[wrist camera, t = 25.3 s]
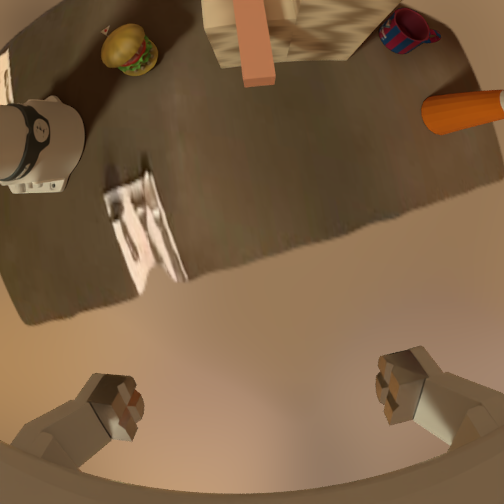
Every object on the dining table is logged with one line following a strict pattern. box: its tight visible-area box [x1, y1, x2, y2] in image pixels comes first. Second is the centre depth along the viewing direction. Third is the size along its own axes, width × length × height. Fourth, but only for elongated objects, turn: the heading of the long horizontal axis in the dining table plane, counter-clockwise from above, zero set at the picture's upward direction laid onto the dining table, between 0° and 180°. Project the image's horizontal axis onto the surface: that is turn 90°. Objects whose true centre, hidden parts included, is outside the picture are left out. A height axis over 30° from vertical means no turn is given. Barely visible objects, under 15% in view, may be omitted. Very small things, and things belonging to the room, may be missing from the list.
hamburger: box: [100, 23, 158, 76], centre depth 34 cm, size 8×7×12 cm
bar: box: [233, 0, 276, 87], centre depth 23 cm, size 3×18×3 cm, turn 7°
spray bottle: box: [421, 90, 504, 135], centre depth 28 cm, size 7×11×26 cm, turn 12°
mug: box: [379, 8, 441, 54], centre depth 34 cm, size 7×10×7 cm
